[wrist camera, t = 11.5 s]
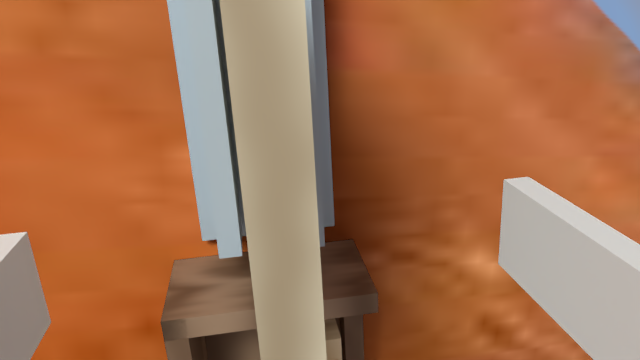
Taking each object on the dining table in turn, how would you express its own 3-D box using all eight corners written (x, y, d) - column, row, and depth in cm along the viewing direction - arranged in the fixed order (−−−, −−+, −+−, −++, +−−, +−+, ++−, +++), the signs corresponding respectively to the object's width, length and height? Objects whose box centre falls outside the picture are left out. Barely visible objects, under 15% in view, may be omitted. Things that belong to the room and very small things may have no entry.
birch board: (251, 198, 39) (271, 458, 17) (226, -38, 33) (210, -83, 12) (278, 195, 39) (332, 448, 18) (258, -39, 33) (299, -87, 12)
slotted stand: (203, 235, 40) (198, 275, 35) (156, -86, 32) (139, -102, 27) (332, 220, 41) (347, 256, 36) (316, -93, 34) (332, -109, 28)
